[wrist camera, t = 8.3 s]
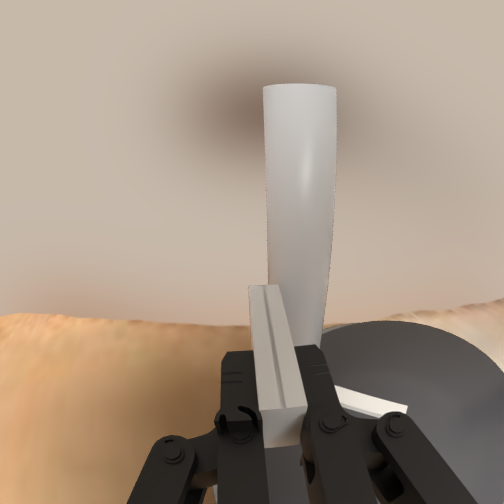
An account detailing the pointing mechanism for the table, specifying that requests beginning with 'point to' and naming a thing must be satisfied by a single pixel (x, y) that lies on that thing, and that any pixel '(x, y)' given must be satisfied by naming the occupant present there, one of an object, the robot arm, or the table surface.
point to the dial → (367, 333)
